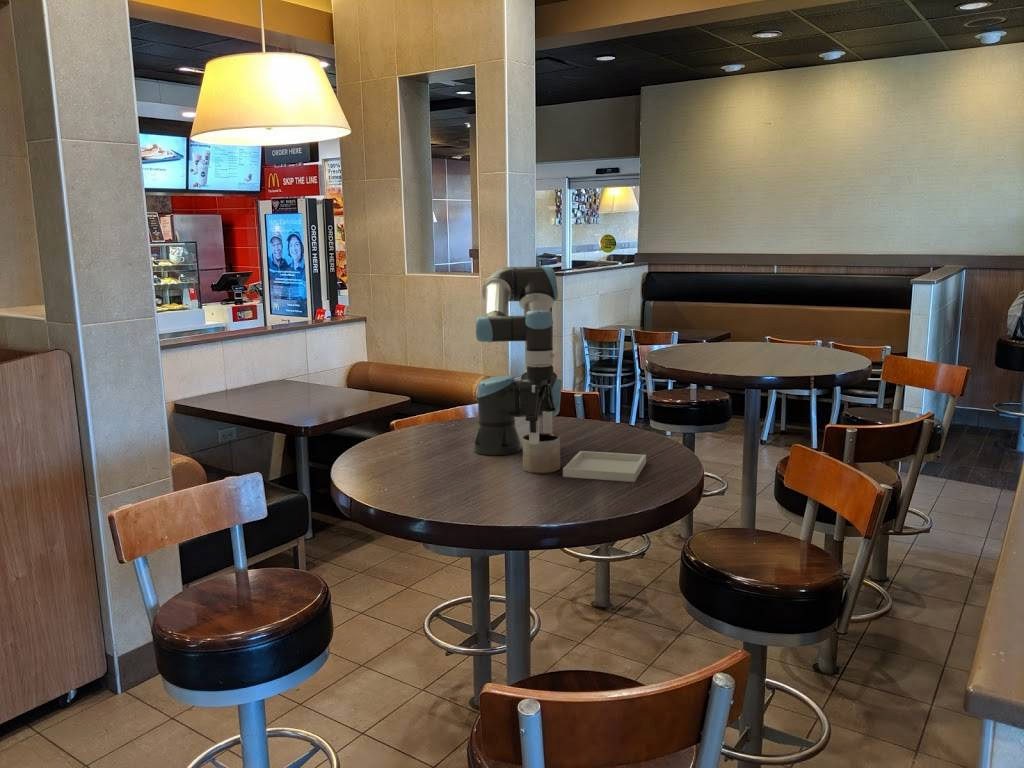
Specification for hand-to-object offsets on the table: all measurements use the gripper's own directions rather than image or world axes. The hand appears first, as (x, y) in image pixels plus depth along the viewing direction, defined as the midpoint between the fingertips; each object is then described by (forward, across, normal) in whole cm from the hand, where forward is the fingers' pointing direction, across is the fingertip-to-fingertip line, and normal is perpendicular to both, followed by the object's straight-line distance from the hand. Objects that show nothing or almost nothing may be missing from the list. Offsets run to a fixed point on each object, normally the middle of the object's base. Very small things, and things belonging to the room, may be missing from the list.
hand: (541, 438), depth 225 cm
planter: (+10, +1, 0) cm, 10 cm away
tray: (+9, +5, -18) cm, 21 cm away
